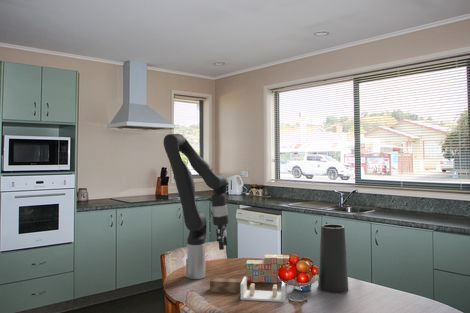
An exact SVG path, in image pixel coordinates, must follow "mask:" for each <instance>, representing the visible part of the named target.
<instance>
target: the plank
mask: <svg viewBox="0 0 470 313" xmlns="http://www.w3.org/2000/svg"><path fill="white" fill-rule="evenodd" d="M241 282H242V278H224V277H223V278H221V277H211V278H210V280H209V291H210V292H216V293H238V294H241Z"/></svg>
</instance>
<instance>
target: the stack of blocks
mask: <svg viewBox="0 0 470 313" xmlns="http://www.w3.org/2000/svg"><path fill="white" fill-rule="evenodd" d="M289 258H290V255H288V254H264V260H259V259H258V260H257V259H247V260H246V263H245V264H246V266H245V267H246V272H245V273H246V274H245V275H246V276H245V277H247V283H248V282H250V283H273V284H274V283H277V284H280V283H281V284H282V282H281V281H280V280H279V278H278V268H279V267H280V266H281V265H282V264H286V263H288V262H289Z"/></svg>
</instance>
